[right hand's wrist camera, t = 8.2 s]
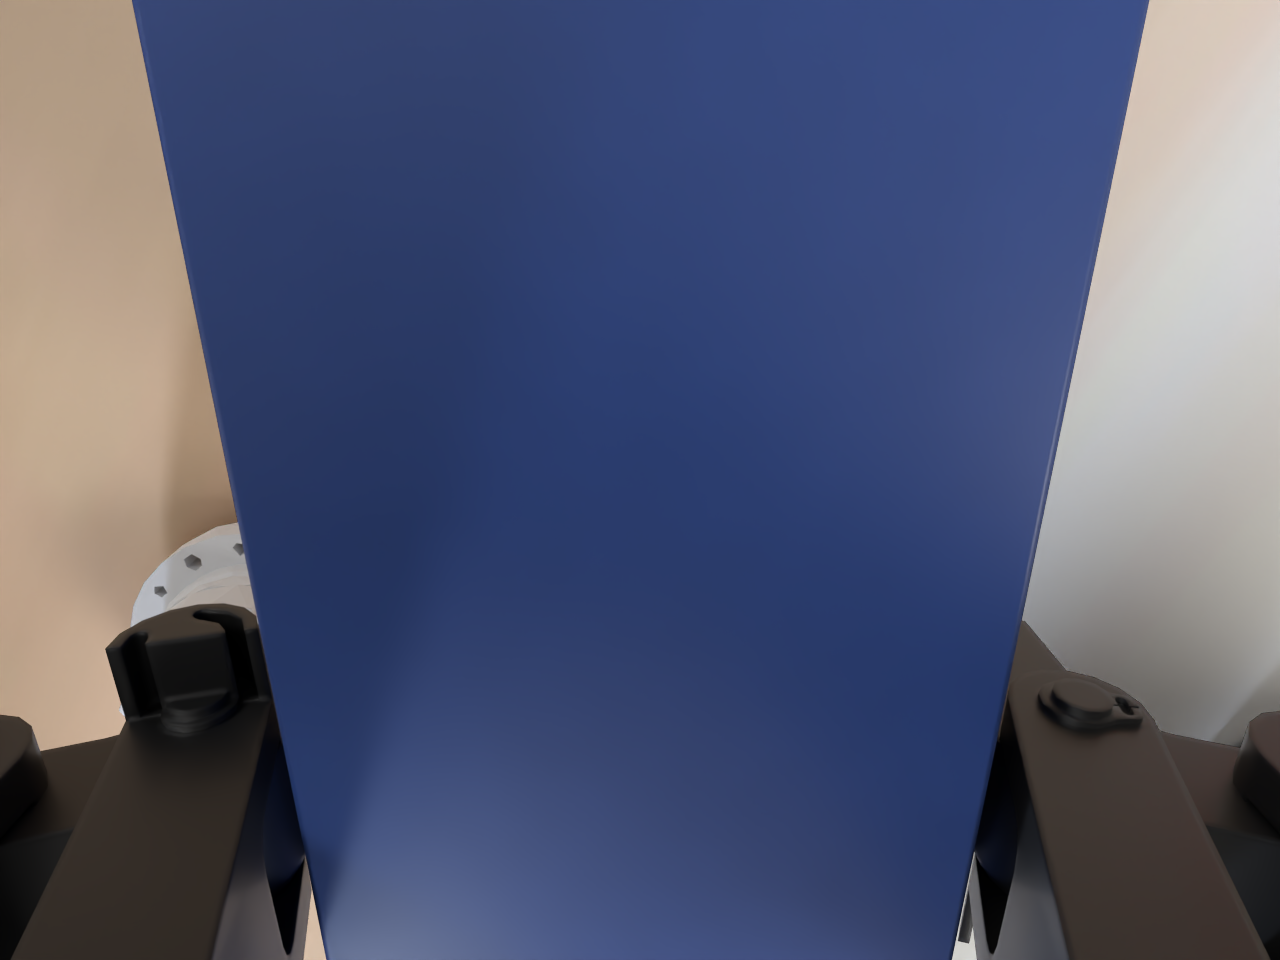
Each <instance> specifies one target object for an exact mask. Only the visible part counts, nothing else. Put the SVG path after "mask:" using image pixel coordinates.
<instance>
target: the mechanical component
mask: <svg viewBox="0 0 1280 960" xmlns="http://www.w3.org/2000/svg"><path fill="white" fill-rule="evenodd" d="M218 603H226V604H231V605H236V606H241V607H245V608H246V609H247V610H249V611H250V612H252V613H253V614H254V615H256V617H257V614H256V609H255V604H254V599H253V594H252V590H251V585H250V580H249V575H248V570H247V565H246V560H245V555H244V550H243V545H242V540H241V535H240V530H239V525H238V522H237V523H232V524H227V525H222V526H217V527H215V528H213V529H211V530H209V531H207V532H205V533H204V534H202V535H200V536H198V537H196V538H194V539H192V540H191V541H189V542H187V543H185V544H184V545H182V546H181V547H180V548H179V549H178V550H176V551H175V552H174V553H173V554H172V555H170V556H169V557H168V558H167V559H166V560H165V561H163V562H162V563H161V564H160V565H159V566H158V568H157V569H156V570H155V571H154V572H153V573H152V574H151V576H150V577H149V578H148V579H147V580H146V581H145V582H144V584H143V586H142V588H141V591H140V593H139V595H138V597H137V599H136V601H135V604H134V606H133V613H132V620H131V627H132V626H134V625H136V624H137V623H139V622H141V621H142V620H145V619H148V618H150V617H153V616H156V615H158V614H161V613H164V612H166V611H169V610H173V609H178V608H183V607H188V606H192V605H197V604H218ZM257 622H258V619H257ZM119 711H120V712H121V713H122V714H123V715H124V712H123V708H122V705H121V706H120V709H119ZM124 716H125V715H124Z"/></svg>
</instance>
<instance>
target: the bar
mask: <svg viewBox="0 0 1280 960" xmlns="http://www.w3.org/2000/svg"><path fill="white" fill-rule="evenodd" d="M132 3H133V8H134V13H135V18H136V22H137V27H138V32H139V37H140V42H141V47H142V52H143V57H144V62H145V67H146V72H147V77H148V82H149V87H150V91H151V96H152V101H153V106H154V111H155V116H156V121H157V126H158V131H159V136H160V141H161V146H162V151H163V156H164V161H165V165H166V170H167V175H168V180H169V185H170V190H171V195H172V200H173V205H174V210H175V215H176V220H177V225H178V230H179V235H180V239H181V244H182V249H183V254H184V259H185V264H186V269H187V274H188V279H189V284H190V289H191V294H192V299H193V304H194V308H195V313H196V318H197V323H198V328H199V333H200V338H201V343H202V348H203V353H204V358H205V363H206V368H207V373H208V378H209V382H210V387H211V392H212V397H213V402H214V407H215V412H216V417H217V422H218V427H219V432H220V437H221V442H222V447H223V451H224V456H225V461H226V466H227V471H228V476H229V481H230V486H231V491H232V496H233V501H234V506H235V511H236V516H237V521H238V525H239V530H240V535H241V540H242V545H243V550H244V555H245V560H246V565H247V570H248V575H249V580H250V585H251V590H252V594H253V599H254V604H255V609H256V614H257V619H258V624H259V629H260V634H261V639H262V644H263V649H264V654H265V659H266V664H267V668H268V673H269V678H270V683H271V688H272V693H273V698H274V703H275V708H276V713H277V718H278V723H279V728H280V733H281V737H282V742H283V747H284V752H285V757H286V762H287V767H288V772H289V777H290V782H291V787H292V792H293V797H294V802H295V807H296V811H297V816H298V821H299V826H300V831H301V836H302V841H303V846H304V851H305V856H306V861H307V866H308V871H309V876H310V881H311V885H312V890H313V895H314V900H315V905H316V910H317V915H318V920H319V925H320V930H321V935H322V940H323V945H324V950H325V954H326V959H327V960H952V956H953V951H954V946H955V941H956V936H957V932H958V927H959V922H960V917H961V912H962V907H963V902H964V898H965V893H966V888H967V883H968V878H969V873H970V868H971V864H972V859H973V854H974V849H975V844H976V839H977V834H978V830H979V825H980V820H981V815H982V810H983V805H984V800H985V796H986V791H987V786H988V781H989V776H990V771H991V766H992V762H993V757H994V752H995V747H996V742H997V737H998V732H999V728H1000V723H1001V718H1002V713H1003V708H1004V703H1005V698H1006V694H1007V689H1008V684H1009V679H1010V674H1011V669H1012V664H1013V660H1014V655H1015V650H1016V645H1017V640H1018V635H1019V630H1020V626H1021V621H1022V616H1023V611H1024V606H1025V601H1026V596H1027V592H1028V587H1029V582H1030V577H1031V572H1032V567H1033V562H1034V558H1035V553H1036V548H1037V543H1038V538H1039V533H1040V528H1041V524H1042V519H1043V514H1044V509H1045V504H1046V499H1047V494H1048V489H1049V485H1050V480H1051V475H1052V470H1053V465H1054V460H1055V455H1056V451H1057V446H1058V441H1059V436H1060V431H1061V426H1062V421H1063V417H1064V412H1065V407H1066V402H1067V397H1068V392H1069V387H1070V383H1071V378H1072V373H1073V368H1074V363H1075V358H1076V353H1077V349H1078V344H1079V339H1080V334H1081V329H1082V324H1083V319H1084V315H1085V310H1086V305H1087V300H1088V295H1089V290H1090V285H1091V281H1092V276H1093V271H1094V266H1095V261H1096V256H1097V251H1098V247H1099V242H1100V237H1101V232H1102V227H1103V222H1104V217H1105V213H1106V208H1107V203H1108V198H1109V193H1110V188H1111V183H1112V179H1113V174H1114V169H1115V164H1116V159H1117V154H1118V149H1119V145H1120V140H1121V135H1122V130H1123V125H1124V120H1125V115H1126V111H1127V106H1128V101H1129V96H1130V91H1131V86H1132V81H1133V77H1134V72H1135V67H1136V62H1137V57H1138V52H1139V47H1140V43H1141V38H1142V33H1143V28H1144V23H1145V18H1146V13H1147V9H1148V4H1149V0H132Z"/></svg>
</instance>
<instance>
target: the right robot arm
mask: <svg viewBox="0 0 1280 960" xmlns="http://www.w3.org/2000/svg"><path fill="white" fill-rule="evenodd" d="M105 650H106V653H107V657H108V660H109V664H110V667H111V670H112V674H113V677H114V681H115V684H116V688H117V691H118V694H119V698H120V701H121V705H122V708H123V712H124V715H125V719H126V722H125V724H124V726H123V728H122V731H121V733H120V735H116V736H112V737H109V738H105V739H100V740H95V741H90V742H85V743H80V744H75V745H70V746H64V747H59V748H54V749H49V750H44V751H40V749H39V747H38V744H37V741H36V738H35V735H34V732H33V729H32V726H31V725H29V724H28V723H27V722H25V721H24V720H22V719H21V718H20V717H15V716H6V715H0V960H303V958H304V949H305V941H306V932H307V924H308V915H309V907H310V898H311V883H310V877H309V871H308V866H307V861H306V856H305V851H304V846H303V841H302V836H301V831H300V826H299V821H298V816H297V811H296V807H295V802H294V797H293V792H292V787H291V782H290V777H289V772H288V767H287V762H286V757H285V752H284V747H283V742H282V737H281V733H280V728H279V723H278V718H277V713H276V708H275V703H274V698H273V693H272V688H271V683H270V678H269V673H268V668H267V664H266V659H265V654H264V649H263V644H262V639H261V634H260V629H259V624H258V622H257V617H256V615H254V614H253V613H252V612H250V611H249V610H247V609H246V608H245V607H241V606H236V605H231V604H226V603H218V604H197V605H192V606H188V607H183V608H178V609H173V610H169V611H166V612H164V613H161V614H158V615H156V616H153V617H150V618H148V619H145V620H142V621H141V622H139V623H137V624H136V625H134V626H132V627H130V628H129V629H127V630H125V631H124V632H122V633H120V634H119V635H118V636H117V637H116V638H115V639H114V640H113V641H112V642H111V643H110V644H109V646H108V647H107V648H106V649H105ZM974 852H975V856H974V861H973V866H972V871H971V876H970V881H969V886H968V890H967V895H966V900H965V905H964V910H963V915H962V920H961V925H960V931H959V938H958V941H960V942H965V943H969V941H970V936H971V932H972V927H973V930H974V939H975V947H976V956H977V960H1280V711H1277V712H1268V713H1261V714H1260V715H1259V716H1257V717H1256V718H1254V719H1253V720H1252V721H1250V722H1249V724H1248V727H1247V730H1246V733H1245V736H1244V739H1243V742H1242V744H1241V747H1240V748H1239V747H1234V746H1229V745H1224V744H1219V743H1214V742H1208V741H1203V740H1198V739H1193V738H1188V737H1183V736H1178V735H1174V734H1170V733H1166V732H1162V731H1159V729H1158V727H1157V725H1156V723H1155V721H1154V719H1153V718H1152V717H1151V715H1150V714H1149V713H1148V712H1147V710H1146V709H1145V708H1144V707H1143V705H1142V704H1141V703H1140V702H1138V701H1137V700H1135V699H1134V698H1132V697H1131V696H1130V695H1128V694H1127V693H1125V692H1124V691H1122V690H1121V689H1119V688H1117V687H1115V686H1113V685H1110V684H1108V683H1106V682H1103V681H1101V680H1099V679H1096V678H1094V677H1091V676H1087V675H1082V674H1078V673H1074V672H1070V671H1066V670H1065V669H1064V667H1063V666H1062V665H1061V664H1060V663H1059V661H1058V660H1057V659H1056V658H1055V657H1054V655H1053V654H1052V653H1051V652H1050V651H1049V649H1048V648H1047V647H1046V646H1045V645H1044V643H1043V642H1042V641H1041V640H1040V639H1039V637H1038V636H1037V635H1036V634H1035V633H1034V631H1033V630H1032V629H1031V628H1030V627H1029V625H1028V624H1027V623H1026V622H1025V621H1021V626H1020V630H1019V635H1018V640H1017V645H1016V650H1015V655H1014V660H1013V664H1012V669H1011V674H1010V679H1009V684H1008V689H1007V694H1006V698H1005V703H1004V708H1003V713H1002V718H1001V723H1000V728H999V732H998V737H997V742H996V747H995V752H994V757H993V762H992V766H991V771H990V776H989V781H988V786H987V791H986V796H985V800H984V805H983V810H982V815H981V820H980V825H979V830H978V834H977V839H976V844H975V849H974Z"/></svg>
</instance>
